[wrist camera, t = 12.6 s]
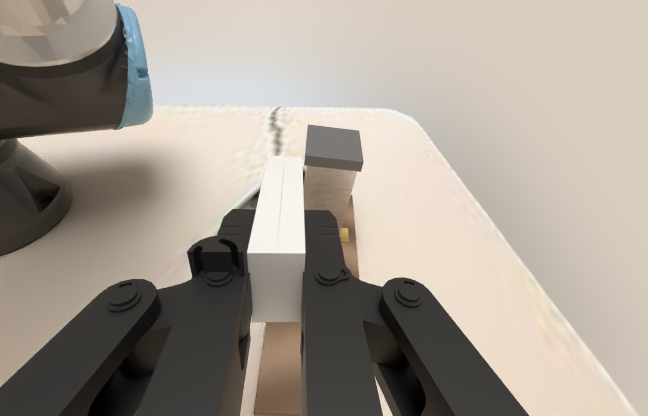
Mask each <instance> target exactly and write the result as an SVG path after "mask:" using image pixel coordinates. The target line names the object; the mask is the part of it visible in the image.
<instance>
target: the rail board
mask: <svg viewBox="0 0 648 416" xmlns="http://www.w3.org/2000/svg"><path fill="white" fill-rule="evenodd" d="M340 239H341V244H342V249H343V254H344V259H345V264H346V267H347V268H348V269H349V270H350V271H351V273H352V275H353V276H354V277H356V278H357V279H359V270H358V259H357V247H356V235H355V223H354V211H353V200H352V195H350V199H349V203H348V207H347V210H346V214H345V218H344V222H343V225H342V229H341V233H340ZM300 343H301V322H267V324H266V331H265V338H264V345H263V352H262V359H261V366H260V373H259V380H258V387H257V394H256V401H255V408H254V416H301V354H300Z"/></svg>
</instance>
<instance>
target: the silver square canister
mask: <svg viewBox="0 0 648 416" xmlns="http://www.w3.org/2000/svg"><path fill="white" fill-rule="evenodd" d="M304 165H305V166H306V172H305V181H304V190H303V198H304V210H329V211H330V212H331V213H332V214H333V215H334V216H335V217H336V219H337V224H338V229H339V234H340V233H341V229H342V225H343V222H344V218H345V214H346V210H347V207H348V203H349V199H350V195H351V192H352V188H353V184H354V181H355V177H356V173H357V171H359V172H361V169H362V165H363V155H362V148H361V141H360V134H359V131H356V130H348V129H340V128H332V127H323V126H315V125H308V130H307V140H306V151H305V163H304ZM339 236H340V235H339Z"/></svg>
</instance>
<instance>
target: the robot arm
mask: <svg viewBox="0 0 648 416" xmlns="http://www.w3.org/2000/svg"><path fill="white" fill-rule="evenodd" d="M147 72H148V68H147V60H146V55H145V50H144V44H143V39H142V35H141V31H140V26H139V23H138V19H137V16H136V14H135V12H134V11H133V10H132V9H131V8H129V7H125V6H122V5H120V4H114V1H113V0H0V255H2V254H5V253H8V252H10V251H13V250H15V249H18V248H20V247H22V246H24V245H26V244H28V243H30V242H32V241H34V240H35V239H37V238H39V237H40V236H42V235H43V234H45V233H46V232H48V231H49V230H50V229H51V228H53V227H54V226H55V225H56V224H57V223H58V222H59V221H60V220H61V219H62V218H63V217H64V215H65V214H66V212H67V211H68V209H69V207H70V205H71V201H72V192H71V189H70V188H69V186H68V184H67V183H66V181H65V180H64V178H63V177H62V175H61V174H60V173H59V172H58V171H57V170H56V169H55V168H53V167H52V166H51V165H49V164H48V163H47V162H45V161H44V160H42V159H41V158H40V157H38V156H37V155H36V154H34V153H33V152H32V151H30V150H29V149H28V148H26V147H25V146H24V145H22V144H21V143H20V142H19V141H18V140H17V138H23V137H33V136H43V135H54V134H65V133H76V132H87V131H98V130H109V129H114V130H119V129H121V128H123V127H128V126H134V125H141V124H144V123H146V122H148V121H149V120H150V118H151V117H152V114H153V101H152V92H151V85H150V79H149V75H148V73H147ZM339 235H340V234H339V229H338V224H337V219H336V217H335V216H334V215H333V214H332V213H331V212H330V211H329V210H304V198H303V170H302V157H290V156H268V158H267V163H266V167H265V172H264V176H263V181H262V186H261V190H260V195H259V199H258V204H257V209H256V210H250V209H232V210H231V211H230V212H229V213H228V214H227V215H226V216H224V218H223V221H222V223H221V227H220V229H219V231H218V236H213V237H208V238H205V239H202V240H200V241H198V242H197V243H195V244H194V245H192V246H191V248H190V249H189V250H188V251H187V254H188V258H189V263H190V268H191V272H192V279H191V280H189V281H187V282H185V283H182V284H179V285H175V286H171V287H167V288H163V289H158V290H157V289H156V287H155V286H154V285H153V283H152V282H149V281H147V280H144V279H131V280H127V281H122V282H119V283H117V284H115V285H112V286H110V287H108V288H107V289H106V290H104V291H103V292H102V293H100V294H99V295H98V296H97V297H96V298H95V299H93V300H92V301H91V302H90V303H89V304H88V305H87V306H86V307H85V308H84V309H83V310H82V311H81V312H80V313H79V314H78V315H77V316H75V317H74V318H73V319H72V320H71V321H70V322H69V323H68V324H67V325H66V326H65V327H64V328H63V329H62V330H61V331H60V332H59V333H57V334H56V335H55V336H54V337H53V338H52V339H51V340H50V341H49V342H48V343H47V344H46V345H45V346H44V347H43V348H42V349H41V350H39V351H38V352H37V353H36V354H35V355H34V356H33V357H32V358H31V359H30V360H29V361H28V362H27V363H26V364H25V365H24V366H22V367H21V368H20V369H19V370H18V371H17V372H16V373H15V374H14V375H13V376H12V377H11V378H10V379H9V380H8V381H7V382H6V383H4V384H3V385H2V386H1V387H0V416H240V409H241V403H242V396H243V389H244V382H245V375H246V368H247V361H248V354H249V347H250V340H251V339H250V322H251V316H252V322H301V343H300V354H301V416H383V414H382V409H381V404H380V400H379V395H378V390H377V386H376V381H375V377H376V380H377V382H378V384H379V386H380V388H381V390H382V393H383V395H384V397H385V399H386V401H387V403H388V406H389V408H390V410H391V412H392V414H393V416H529V415H528V414H527V412H526V411H525V410H524V409H523V407H522V406H521V405H520V404H519V402H518V401H517V400H516V399H515V397H514V396H513V395H512V394H511V392H510V391H509V390H508V389H507V387H506V386H505V385H504V384H503V382H502V381H501V380H500V378H499V377H498V376H497V375H496V373H495V372H494V371H493V370H492V368H491V367H490V366H489V365H488V363H487V362H486V361H485V360H484V358H483V357H482V356H481V355H480V353H479V352H478V351H477V350H476V348H475V347H474V346H473V345H472V343H471V342H470V341H469V340H468V338H467V337H466V336H465V335H464V333H463V332H462V331H461V330H460V328H459V327H458V326H457V325H456V323H455V322H454V321H453V320H452V318H451V317H450V316H449V314H448V313H447V312H446V311H445V309H444V308H443V307H442V306H441V304H440V303H439V302H438V301H437V299H436V298H435V297H434V296H433V294H432V293H431V292H430V291H429V290H428V289H427V288H426V287H425V286H424V285H423V284H421V283H419V282H417V281H415V280H412V279H408V278H394V279H391V280H389V281H387V282H386V284H385V285H384V286H383V287H381V286H377V285H373V284H369V283H366V282H363V281H361V280H359V279H357V278H356V277H354V276H353V275H352V273H351V271H350V270H349V269H348V268H347V267H346V264H345V259H344V254H343V249H342V244H341V239H340V236H339ZM374 375H375V376H374Z"/></svg>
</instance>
